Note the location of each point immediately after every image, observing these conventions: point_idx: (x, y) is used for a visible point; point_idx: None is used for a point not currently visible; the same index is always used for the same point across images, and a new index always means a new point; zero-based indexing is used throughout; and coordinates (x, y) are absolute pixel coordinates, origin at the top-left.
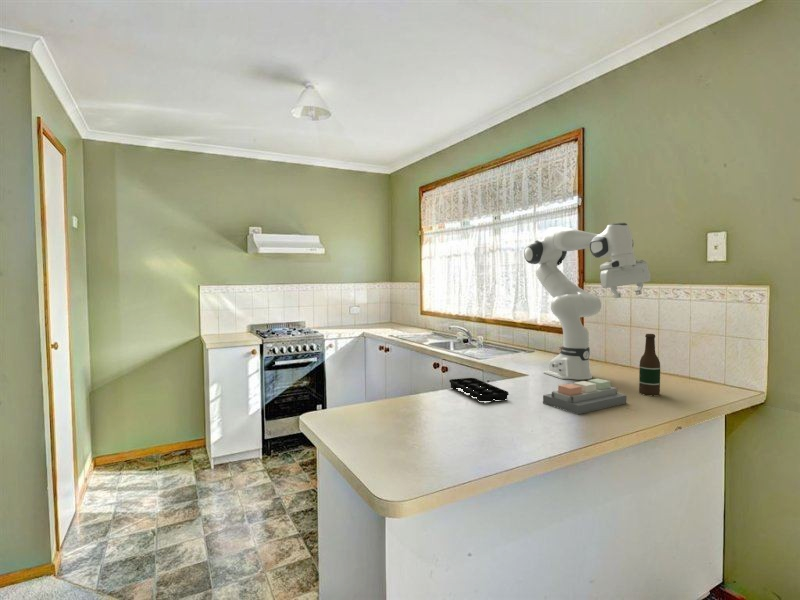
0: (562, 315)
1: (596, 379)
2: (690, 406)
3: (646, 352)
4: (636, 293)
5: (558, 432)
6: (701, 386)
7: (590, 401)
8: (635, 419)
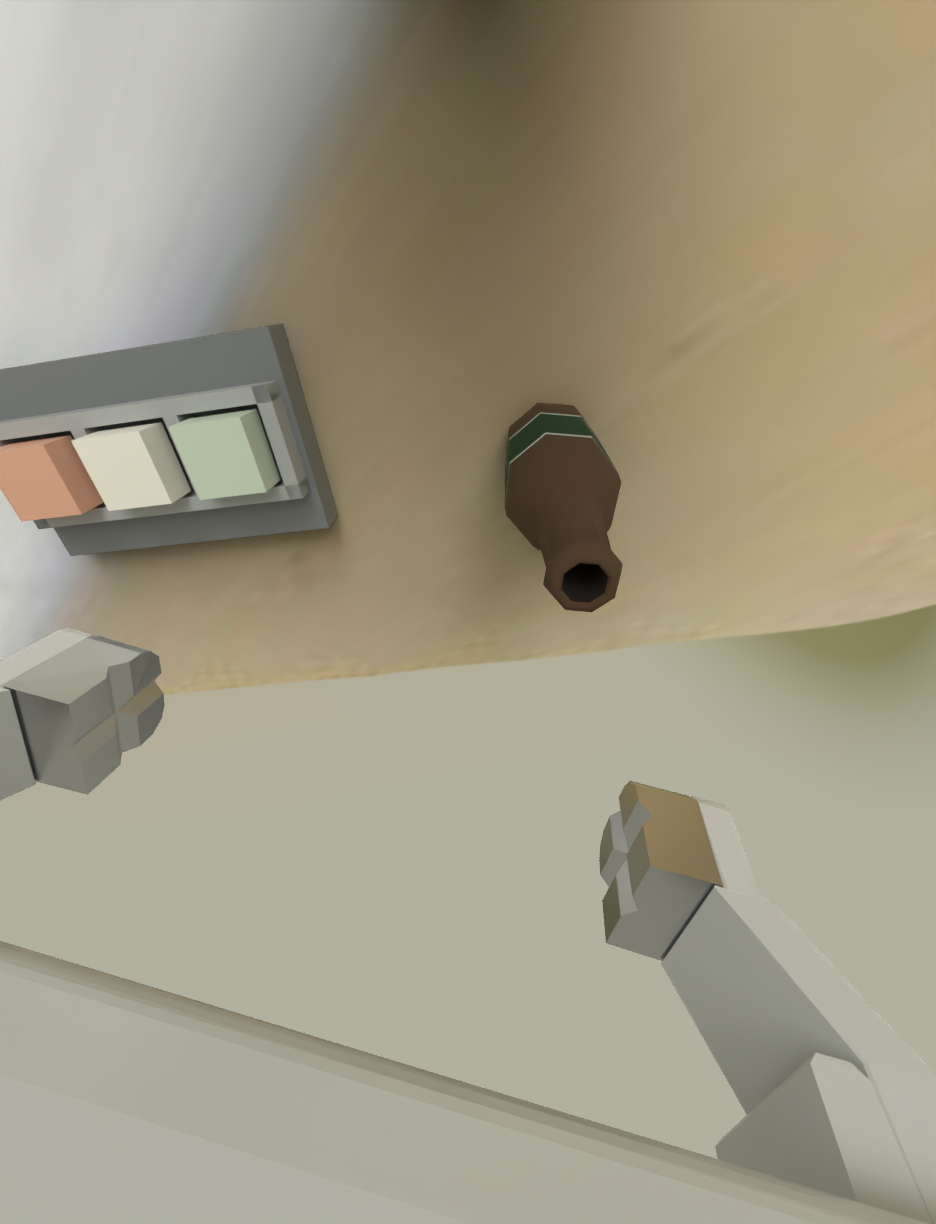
0: None
1: (220, 433)
2: (517, 624)
3: (535, 523)
4: (625, 821)
5: None
6: (912, 451)
7: (138, 535)
8: (246, 640)
